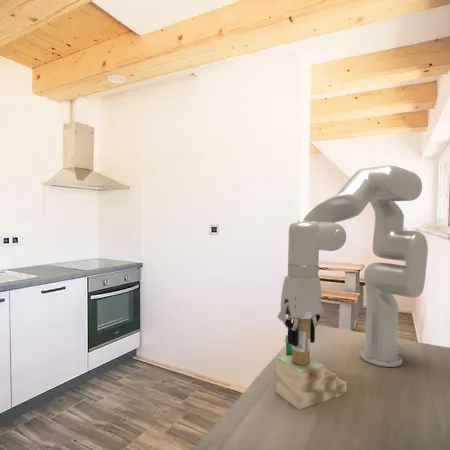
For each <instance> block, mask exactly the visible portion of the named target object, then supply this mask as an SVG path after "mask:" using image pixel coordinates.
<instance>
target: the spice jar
mask: <svg viewBox="0 0 450 450" xmlns="http://www.w3.org/2000/svg"><path fill="white" fill-rule="evenodd" d="M311 318H312V315H311V312H307V313H306V314H305V316H304V317H302V318H299V319H298V324H297V328H296V330H298V346H293V354H292V361H293V362H294V363H296V364H299V365H307V364H309V363H310V360H309V358H311V357H310V352H311V342H310V327H311Z"/></svg>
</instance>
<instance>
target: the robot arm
mask: <svg viewBox="0 0 450 450" xmlns="http://www.w3.org/2000/svg"><path fill="white" fill-rule="evenodd" d="M422 191H423V182H422V179H421V177H420V176H419V175H418V174H417V173H415V172H413V171H412V170H408V169H405V168H403V167H400V166H396V165H383V166H375V167H374V166H373V167H365V168H360V169H358V170H357V171H355V173H354V174H353V175H352V176H351V177H350V178H349V179H348V180H347V181H346V183H345V184H344V185H343V186H342V188H341V189H340V190H339V191H338V192H337V193H336V194H335V195H333V196H330V197H329V198H327V199H325V200H323V201H322V202H320V203H318V204H316V205H315V206H312V207H311V208H310V209H308V210H307V211H306V212H305V213H304V214H303V215H302V217H300V218H299V220H298V221H297V222H292V223H291V224H290V225H289V228H288V244H287V245H288V249H287V250H288V252H287V255H288V257H287V276H284V280H283V284H282V289H281V296H280V297H281V298H280V311H279V313H278V315H277V319H278V320H279V321H281V322H282V323H283V324H284V325H285V328H287V335H288V343H289V344H291V345H293V346H298V330H296V328H297V324H298V319H299V318H302V317H304V316H305V314H306V313H307V312H311V315H312V318H311V327H310V343H312V344H313V343H315V339H316V336H315V334H316V327H318V323H319V320H320V318H321V317H322V316H323V314H324V313H325V309H324V308H323V305H322V287H321V286H322V285H321V280H320V276H319V271H320V270H321V267H320V265H319V257H320V256H319V255H320V254H319V253H320V251H327V252H335V251H338V250H340V249H341V248H342V247H343V246H344V245H345V244H346V240H347V232H346V230H345V228H344V227H343V226H342V225H340V224H339V222H342V221H346V220H347V221H348V220H350V219H352V218H355V217H357V216H359V215H360V214H361V213H362V212H363V211H364V210H365V208H366V207H367V205H368V204H370V205H371V206H372V209H373V211H374V218H375V219H374V230H373V238H372V239H373V240H372V252H373V254H374V256H376V257H377V258H380V259H386V260H393V261H394V260H395V261H402V262H405V265H403V264H397V263H390V262H372V263H370V264H368V265H367V266H366V268H365V269H364V273H363V281H364V285H365V286H364V287H365V292H366V305H365V307H366V311H365V338H364V339H365V342H364V346H365V347H364V348H363V349H362V350H360V351H359V357H360V358H361V359H362V360H363V361H365V362H366V363H369V364H372V365H375V366H379V367H386V368H395V367H396V368H397V367H399V366H401V365H402V364H403V358H402V357H401V356H400V355H399V352H401V351H404V350H405V346H404V344H402V343H400V344H398V338H399V337H398V335H399V333H398V332H399V329H398V328H399V305H398V302H397V300H396V298H395V296H394V295H396V296H400V297H405V298H411V299H413V298H415V299H416V298H418V297H419V296H421V295H422V294H423V292H424V288H425V285H426V283H425V282H426V273H427V266H428V265H427V263H428V254H429V253H428V249H429V248H428V246H429V245H428V241H427V238H426V236H425V235H424V234H423V233H421V232H418V231H416V230H404V220H405V218H404V215H405V214H404V213H403V210H402V209H401V207H400V206H399V205H398V204H397V203H396V202H409V201H410V202H411V201H414V200H417V199H418V198H419V197H420V196H421V194H422Z"/></svg>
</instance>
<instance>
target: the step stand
mask: <svg viewBox="0 0 450 450" xmlns="http://www.w3.org/2000/svg"><path fill="white" fill-rule="evenodd" d="M309 360H310V363H309V364H307V365H299V364H296V363H294V362H293V361H292V355H288V356H286V355H284V356H280V357H276V367H275V368H276V373H275V374H276V375H275V377H276V378H275V393H276V394H278V395H279V396H280V397H281V398H283V399H284V400H285V401H287V402H288V403H289V404H291V405H292V406H294V408H296V409H298V410H303V409H306V408H308V407H312V406H314V405H315V406H316V405H318V404H321V403H324V402H327V401H330V400H332V399H335V398H339V397H342V396H344V395H347V384H348V383H347V381H344V380H342V379H340V378H339V377H337V374H336V373H334V372H332V371H331V370H328V369H327V368H326V366H325V364H323V363H320V362H319V361H317V360H316V359H313V358H311V357H309Z"/></svg>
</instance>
